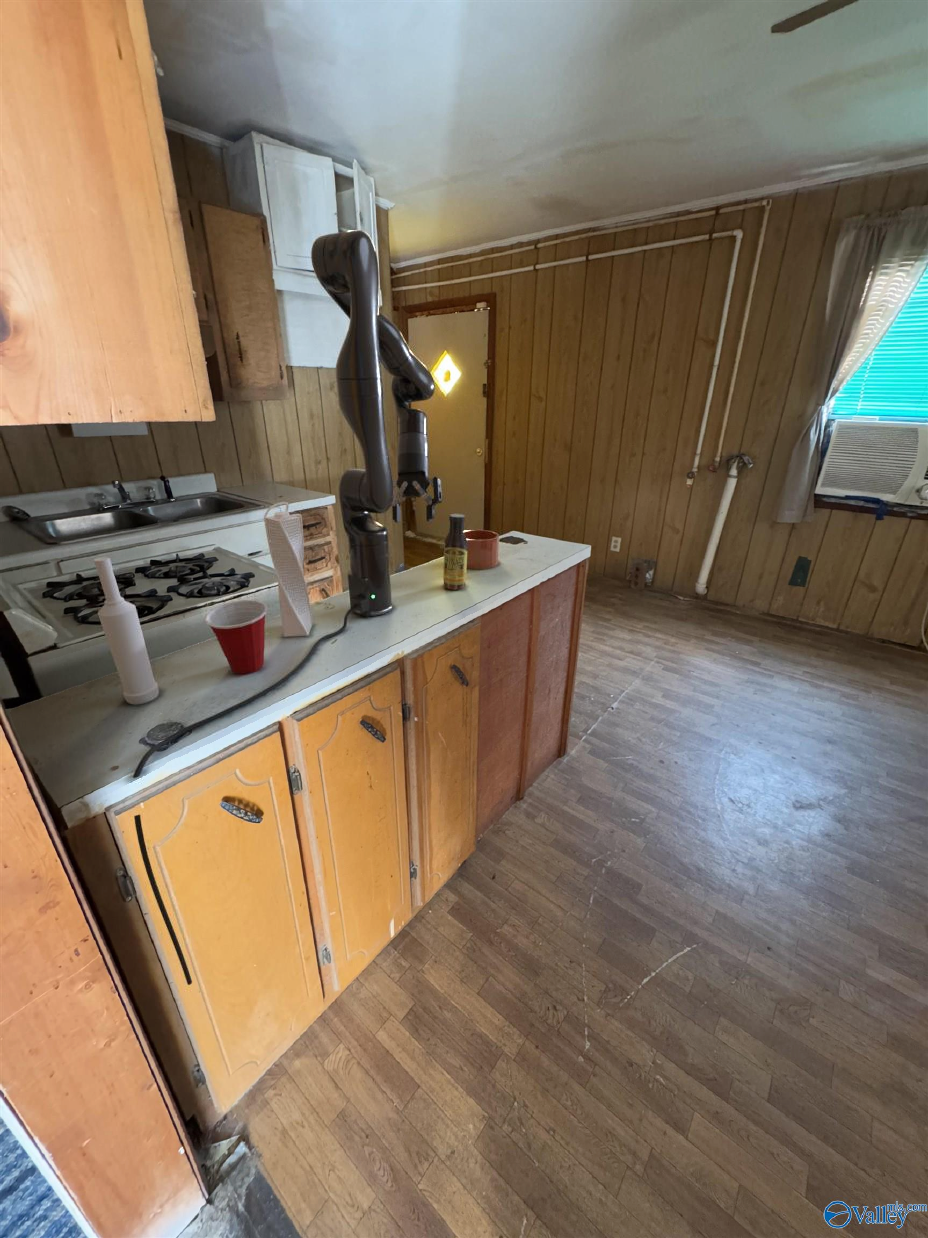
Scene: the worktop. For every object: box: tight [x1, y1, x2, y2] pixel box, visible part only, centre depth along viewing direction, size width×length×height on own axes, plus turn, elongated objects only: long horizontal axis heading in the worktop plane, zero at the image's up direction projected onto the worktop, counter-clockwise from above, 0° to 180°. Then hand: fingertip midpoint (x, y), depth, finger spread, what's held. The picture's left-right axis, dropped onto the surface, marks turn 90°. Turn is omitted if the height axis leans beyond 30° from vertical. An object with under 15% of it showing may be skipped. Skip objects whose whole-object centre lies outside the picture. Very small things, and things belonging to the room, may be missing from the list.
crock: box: [464, 529, 500, 570], centre depth 156 cm, size 13×13×9 cm
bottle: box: [93, 556, 160, 706], centre depth 82 cm, size 5×5×25 cm
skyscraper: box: [263, 501, 314, 638], centre depth 106 cm, size 8×8×28 cm
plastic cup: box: [203, 599, 268, 675], centre depth 94 cm, size 11×11×12 cm
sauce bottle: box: [442, 513, 468, 591], centre depth 134 cm, size 6×6×20 cm
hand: (413, 521), depth 124 cm, fingers open, 8 cm apart
